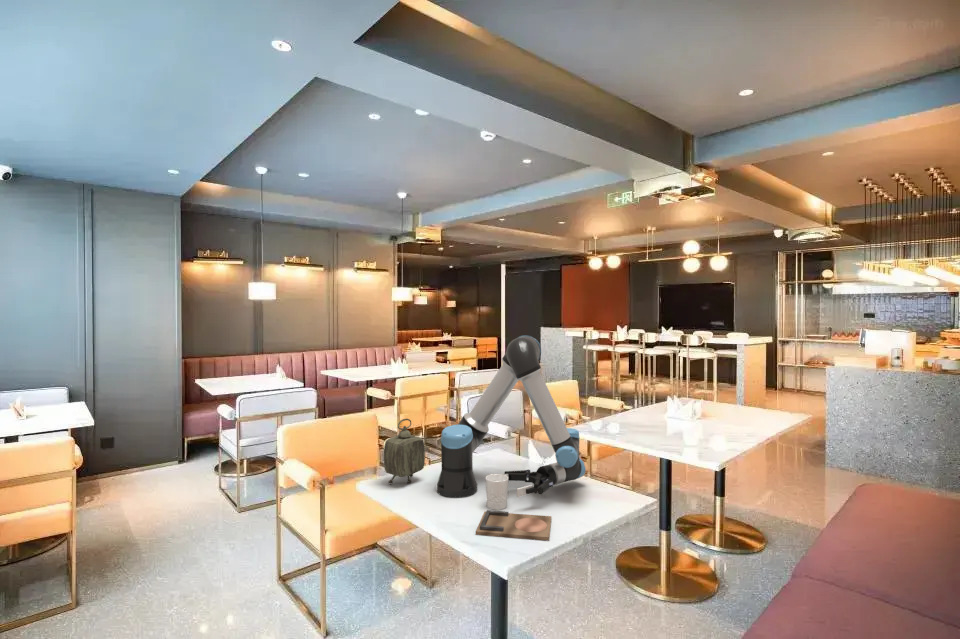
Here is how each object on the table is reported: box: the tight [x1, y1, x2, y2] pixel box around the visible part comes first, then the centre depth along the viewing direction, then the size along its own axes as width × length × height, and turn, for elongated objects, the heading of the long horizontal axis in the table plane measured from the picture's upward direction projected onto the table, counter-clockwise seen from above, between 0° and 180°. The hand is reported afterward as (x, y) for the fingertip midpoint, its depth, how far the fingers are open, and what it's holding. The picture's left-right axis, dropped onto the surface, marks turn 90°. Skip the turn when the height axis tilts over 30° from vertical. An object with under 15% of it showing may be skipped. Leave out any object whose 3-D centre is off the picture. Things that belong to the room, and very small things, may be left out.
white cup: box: [485, 473, 509, 511], centre depth 172 cm, size 8×8×10 cm
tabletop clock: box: [383, 418, 426, 484], centre depth 196 cm, size 14×9×25 cm, turn 140°
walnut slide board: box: [475, 509, 552, 542], centre depth 156 cm, size 22×15×2 cm
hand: (505, 487), depth 173 cm, fingers open, 13 cm apart
